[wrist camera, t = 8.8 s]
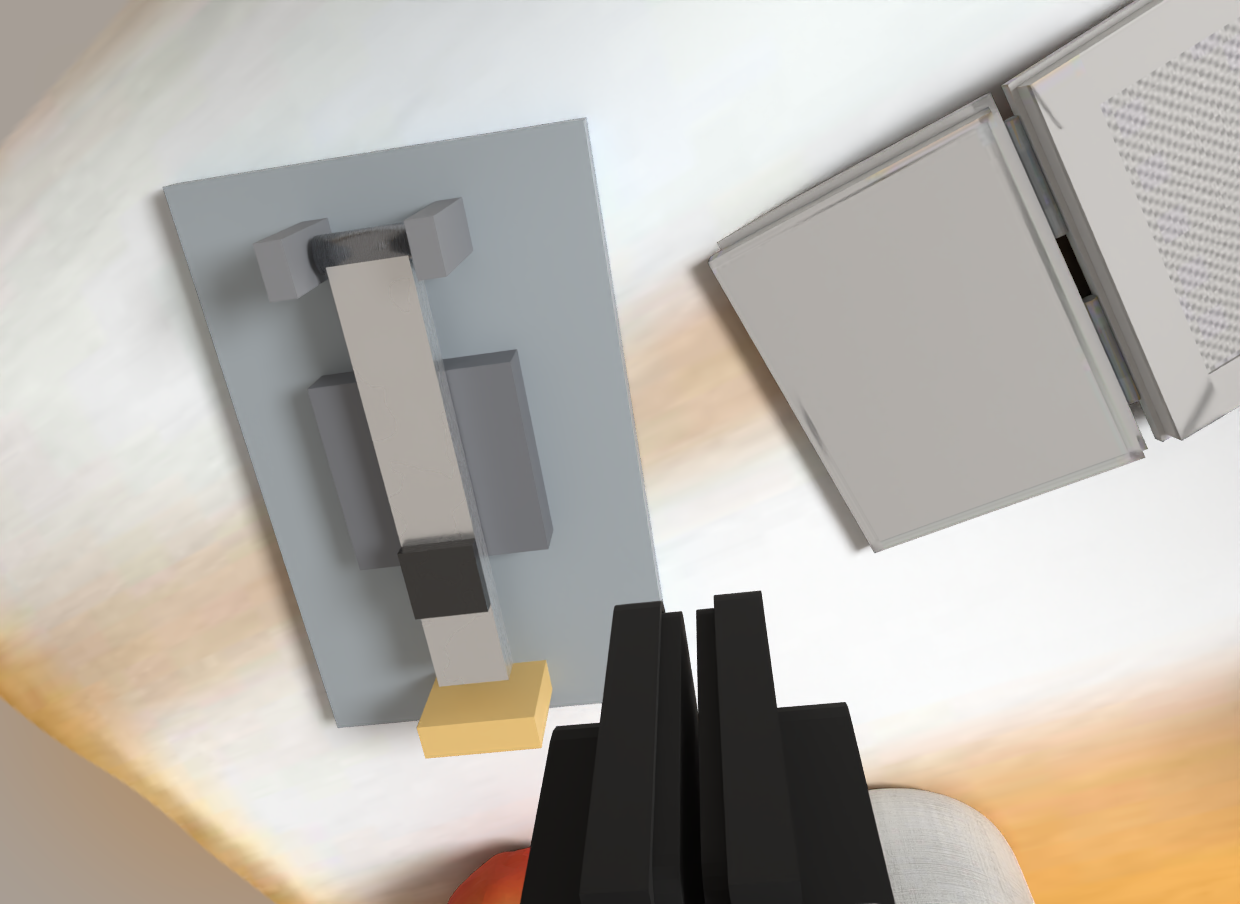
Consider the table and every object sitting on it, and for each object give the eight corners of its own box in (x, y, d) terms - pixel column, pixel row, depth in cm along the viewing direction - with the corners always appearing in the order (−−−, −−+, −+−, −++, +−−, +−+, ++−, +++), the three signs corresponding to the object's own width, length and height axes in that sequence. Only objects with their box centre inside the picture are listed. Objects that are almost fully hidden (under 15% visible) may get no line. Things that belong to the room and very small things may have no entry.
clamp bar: (322, 232, 34) (302, 241, 33) (418, 217, 34) (404, 226, 32) (439, 669, 41) (428, 696, 40) (520, 660, 41) (513, 687, 39)
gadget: (870, 543, 42) (888, 586, 39) (700, 248, 37) (703, 268, 34) (1417, 277, 36) (1494, 300, 33) (1295, -106, 32) (1370, -125, 29)
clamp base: (177, 183, 37) (93, 204, 31) (586, 117, 35) (570, 128, 30) (346, 711, 46) (302, 798, 41) (675, 679, 44) (675, 765, 39)
